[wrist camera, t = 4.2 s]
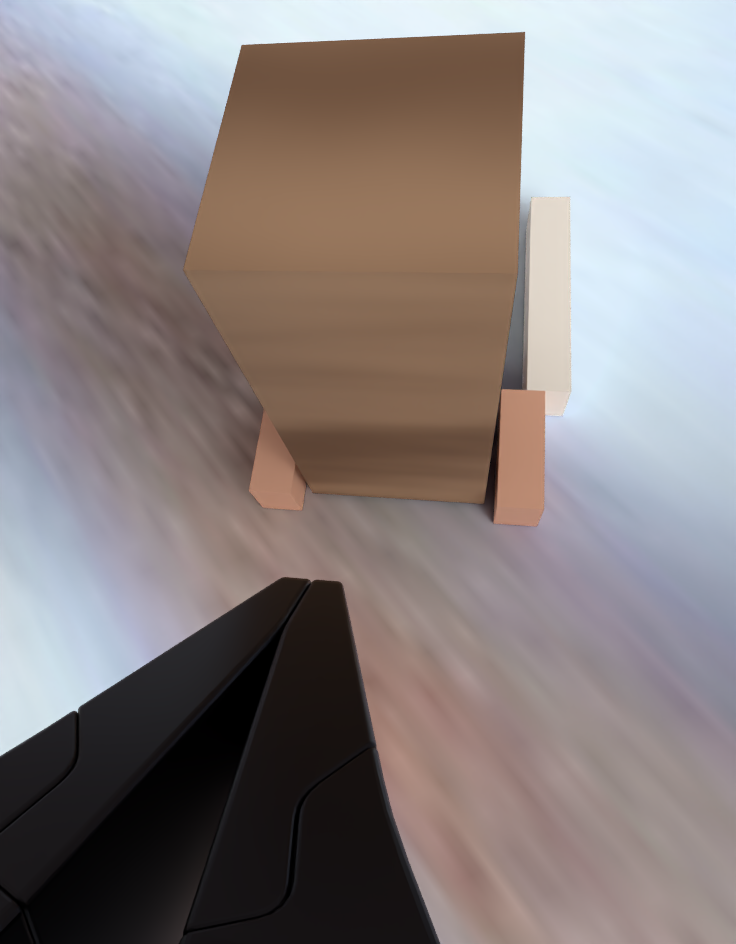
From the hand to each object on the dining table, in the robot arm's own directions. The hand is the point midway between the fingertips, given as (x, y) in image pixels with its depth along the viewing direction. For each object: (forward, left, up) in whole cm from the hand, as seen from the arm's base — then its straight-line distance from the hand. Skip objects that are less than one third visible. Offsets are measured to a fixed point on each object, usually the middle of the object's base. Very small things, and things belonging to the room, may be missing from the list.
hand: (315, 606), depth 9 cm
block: (+6, +4, -9) cm, 11 cm away
